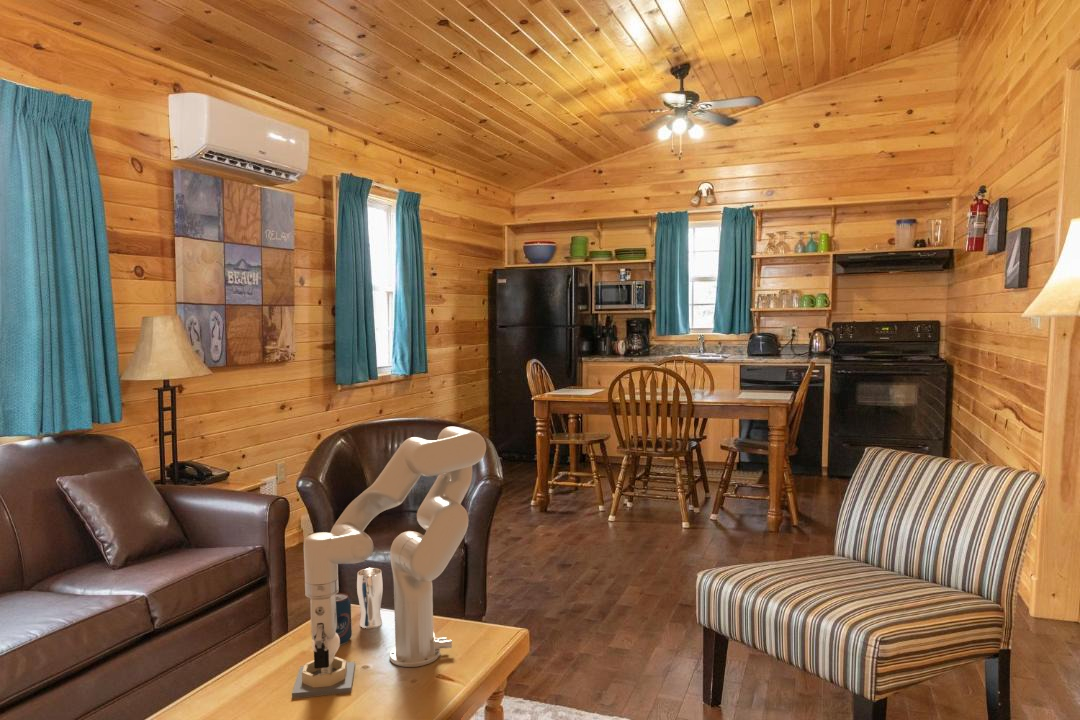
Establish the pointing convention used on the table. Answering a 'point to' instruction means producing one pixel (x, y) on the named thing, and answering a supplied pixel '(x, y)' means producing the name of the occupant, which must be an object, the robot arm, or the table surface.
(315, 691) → the socket holder
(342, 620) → the soda can
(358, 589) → the beer glass
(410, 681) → the table surface
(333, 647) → the lightbulb
